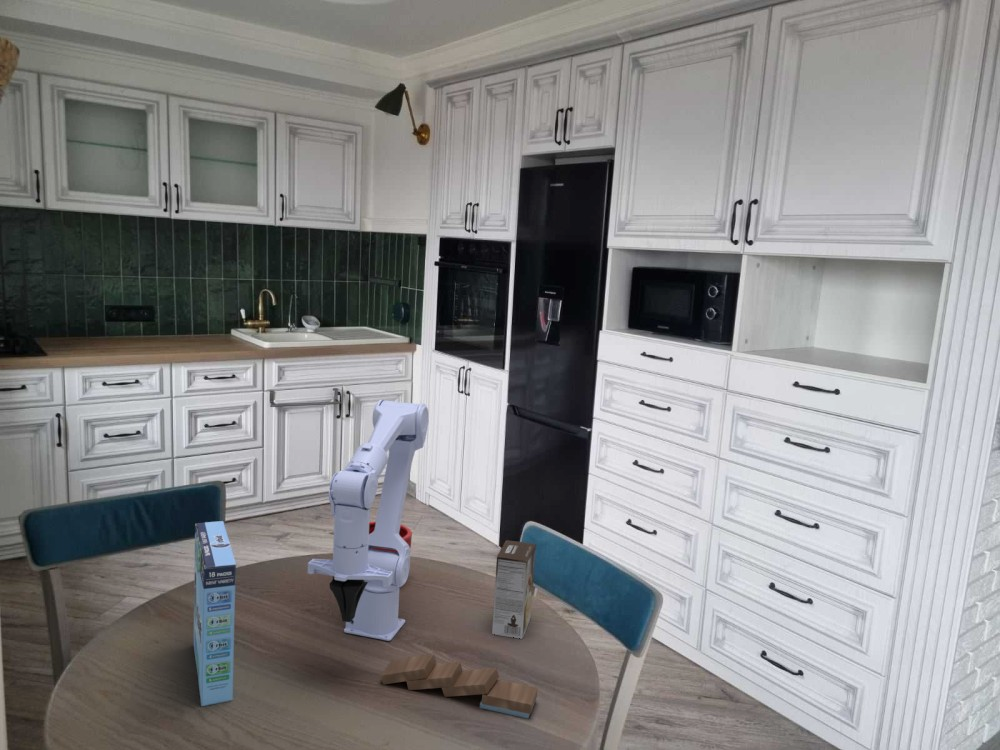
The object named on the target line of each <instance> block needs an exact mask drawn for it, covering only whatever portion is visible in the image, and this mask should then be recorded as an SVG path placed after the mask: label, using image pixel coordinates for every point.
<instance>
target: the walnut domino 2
mask: <svg viewBox="0 0 1000 750" xmlns="http://www.w3.org/2000/svg"><path fill="white" fill-rule="evenodd" d="M462 671H463V667H462V663H461V661H452V662H451V661H450V662H441V663H436V664H435V666H434V667H433V669H432V670H431V672H430V674H429V675H428V677H427V678H424V679H417V680H410V681H405V682H406V685H407V690H408V691H416V690H427V689H429V690H431V689H440V688H441V689H442V687H453V686H454V685H455V683H456V681H457V679H458V677H459V676H460V674H461V672H462Z"/></svg>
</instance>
